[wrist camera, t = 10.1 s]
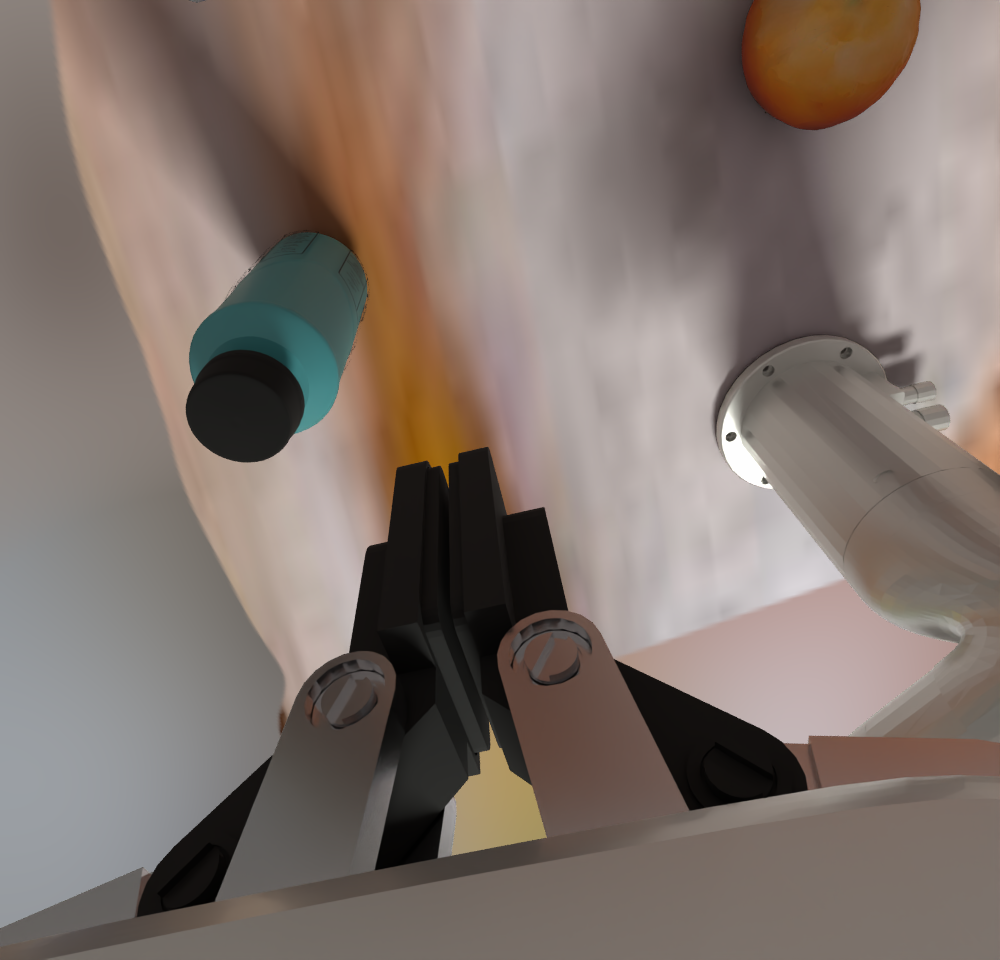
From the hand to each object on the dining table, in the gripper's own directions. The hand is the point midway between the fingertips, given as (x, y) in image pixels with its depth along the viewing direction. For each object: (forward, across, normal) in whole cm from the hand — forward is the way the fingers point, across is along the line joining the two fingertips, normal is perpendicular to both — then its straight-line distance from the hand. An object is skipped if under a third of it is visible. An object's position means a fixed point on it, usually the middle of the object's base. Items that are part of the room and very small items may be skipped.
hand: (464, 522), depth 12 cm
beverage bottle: (+32, +9, +2) cm, 34 cm away
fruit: (+32, -21, -4) cm, 39 cm away
